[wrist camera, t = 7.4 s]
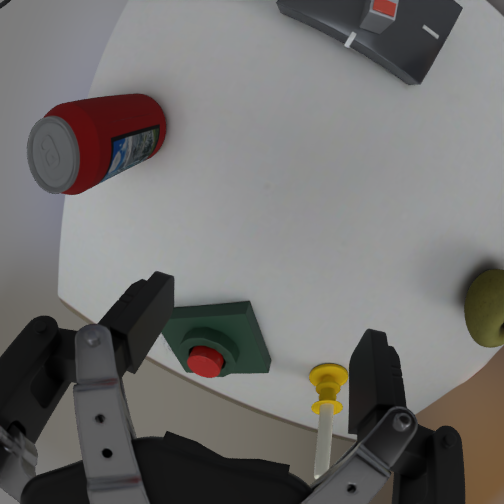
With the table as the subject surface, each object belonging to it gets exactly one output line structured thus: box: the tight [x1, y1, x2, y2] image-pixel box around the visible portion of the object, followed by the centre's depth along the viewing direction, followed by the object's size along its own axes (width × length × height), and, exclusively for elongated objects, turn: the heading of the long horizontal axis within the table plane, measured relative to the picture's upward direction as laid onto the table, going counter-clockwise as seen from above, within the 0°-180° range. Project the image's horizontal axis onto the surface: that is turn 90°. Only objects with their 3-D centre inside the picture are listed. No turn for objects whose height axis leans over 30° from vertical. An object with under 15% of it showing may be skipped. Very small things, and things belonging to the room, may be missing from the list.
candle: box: [309, 364, 348, 479], centre depth 30 cm, size 5×5×16 cm
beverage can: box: [27, 94, 166, 195], centre depth 20 cm, size 7×7×12 cm
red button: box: [187, 346, 224, 378], centre depth 33 cm, size 4×4×2 cm
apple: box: [464, 269, 504, 348], centre depth 23 cm, size 8×8×7 cm
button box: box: [161, 301, 271, 377], centre depth 35 cm, size 12×10×4 cm
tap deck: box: [276, 0, 463, 85], centre depth 15 cm, size 12×11×3 cm
